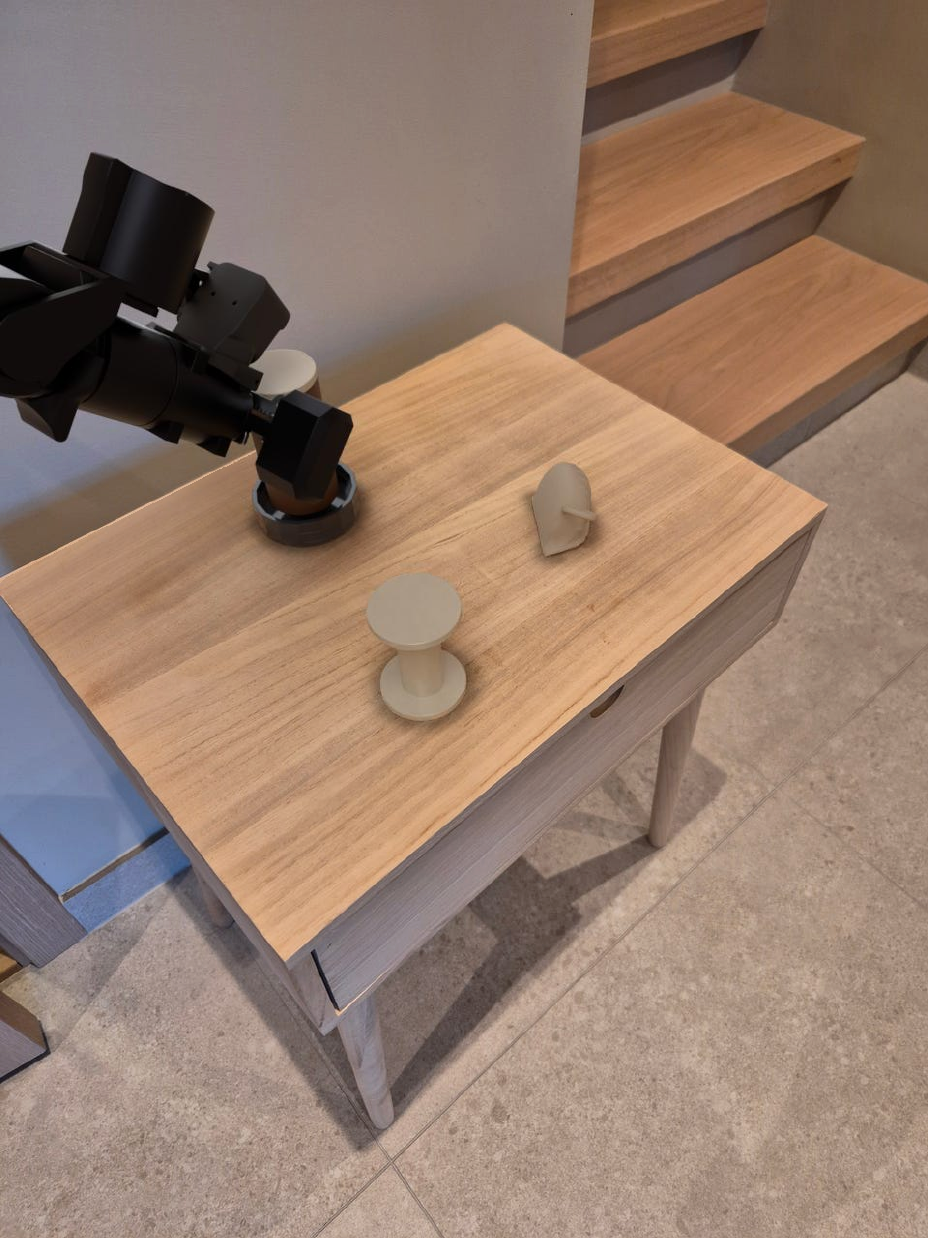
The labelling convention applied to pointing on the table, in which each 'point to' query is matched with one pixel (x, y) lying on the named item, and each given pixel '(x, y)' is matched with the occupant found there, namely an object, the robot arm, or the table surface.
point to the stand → (418, 644)
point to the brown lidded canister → (279, 377)
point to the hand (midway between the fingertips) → (306, 436)
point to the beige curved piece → (563, 508)
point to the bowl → (310, 515)
